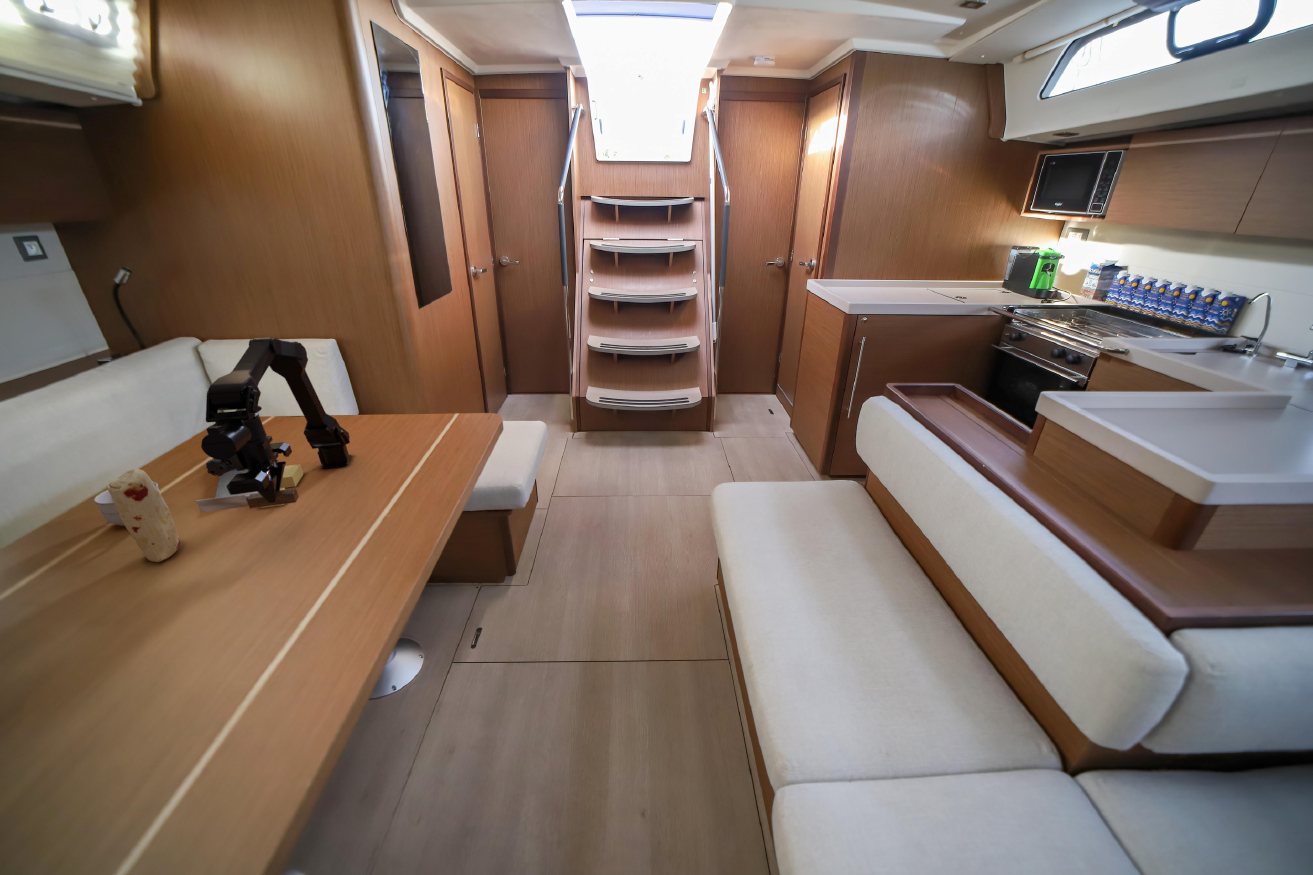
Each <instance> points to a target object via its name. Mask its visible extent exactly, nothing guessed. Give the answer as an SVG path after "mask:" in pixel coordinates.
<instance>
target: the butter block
mask: <svg viewBox="0 0 1313 875" xmlns="http://www.w3.org/2000/svg"><path fill="white" fill-rule="evenodd" d="M302 468H303V467H302V466H301V464H292V465H291V464H290V465H285V468H284V473H283V478H282V482H281V488H285V489H287V488H294V487H297V485H298V484H299V482H300V480H301V479H302V477H303V475H304V471H303V469H302Z"/></svg>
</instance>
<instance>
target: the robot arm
mask: <svg viewBox="0 0 1313 875" xmlns="http://www.w3.org/2000/svg"><path fill="white" fill-rule="evenodd" d="M306 349H307V348H306V347H305V346H304V345H303V344H302V343H301V342H299V341H289V340H283V339H279V338H275V337H272V336H270V337H254V338H252V339H250V340H249V342H248V347H247V348H246V350H245V352H244V353H243V354H242V356H241V358H240V359H239V360H238V361H237V363H236V365H235V366H234V368H233V369H232V370H231V372H229V373H227V374H225V375H222V376H220V377H218V378H217V379H215V381H213V382H212V383H211V384H210V385H209V386H208V389H207V391H206V403H205V422H206V423H214V424H212V425H210V426H208V427H207V428H206V432H207V434H206V435H205V436H203V438H202V439H201V445H200V447H201V450H202V452H203V453H204V454H205V455H206V456H208V457H210V458H211V459H209V460H207V462H206V463H205V468H206V470H207V473H208V474H209V475H211V476H214V477H215V476H217V477H220V476H222V475H223V474H224V473H226V472H229V471H231V470H233V469H235V468H236V469H237V471H242V470H245V469H248V472H247V473H240V474H236V475H235V477H234V478H233V479H232V480H231V481H230V482H229V483H228V485H227V486H226V487H227V489H228V492H229V494H231V495H235V494H242V493H250V492H258V493H259V494H260V495H261V496H262V497H263V498H264V499H265V500H266V501H267V502H269V503H273V502H275V495H276V491H279V490H280V488H281V482H282V478H283V473H284V468H285V466H287V465H286V464H287V462H286V461H279V459H278V457H279V454H280V455H281V454H282V455H283V456H284V457H285V458H288V457H290V455H291V454H292V453H293V450H292V447H291V444H289V443H287V442H285V441H281V442H280V441H279V442H273V436H272V435H267V433H266V430H265V426H264V424H263V421H262V418H261V416H260V413H259V412H261V410H262V409H263V408H262V406H260V405H259V401H260V398H261V394H262V392H261V390H260V388H259V384H260V382H261V380H262V378H263V377H264V375H265V374H266V372H267V370H268V369H269V368H270V369H271V371H272V372H274V373H275V374H277V375H279V376H280V377H282V378H283V379H284V380H285V382H286V384H287V385H288V387H289V389H290V391H291V393H292V395H293V397H294V399H295V401H296V403H297V405H298V407H299V409H300V411H301V412H302V415H303V417H304V418H305V420H306V424H305V427H304V430H303V435H304V436H305V439H306V441H307V443H308V444H309V446H310V447H311V449H313V450H315V449H318V450H317V456H318V459H319V462H320V465H321V469H322V470H326V469H333V468H335V469H336V468H342V467H347V466H349V463H350V461H351V459H352V457H353V456H352V455H351V454H349V451H348V447H347V445H348V444H350V443H351V440H350V433H349V431H347V430H346V429H344V428H343V427H342V426H341V425H340V423H339V422H338V421H337V419H336V418H335V417H333V416H331V415H330V414H328V413H327V412H326V411H325V408H324V406H323V404H322V402H321V400H320V398H319V395H318V394H317V392H316V390H315V387H314V385H313V383H312V381H311V379H310V377H309V374H308V373H307V371H306V368H307V365H308V362H309V358H308V353H307V350H306Z"/></svg>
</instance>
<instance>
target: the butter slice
mask: <svg viewBox="0 0 1313 875" xmlns="http://www.w3.org/2000/svg"><path fill="white" fill-rule="evenodd" d="M280 490H286V488H280ZM284 505H285V504H279V505H272V506H264V507H260V509H265V508H273V507H278V506H279V507H281V506H284Z"/></svg>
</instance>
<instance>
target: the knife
mask: <svg viewBox="0 0 1313 875" xmlns="http://www.w3.org/2000/svg"><path fill="white" fill-rule="evenodd" d="M299 498H300V496H299V493H298V489H297V488H289V489H285V490H279V491H276V495H275V502H273V503H269V502H267V501H266V500H265V499H264V498H263V497H262V496H261V495H260V494H259V493H255V494H250V495H249V497H248V498H246V496H245V494H244V495H236V496H228V497H220V498H215V497H212V498H204V499H196V500H195V502H196V504H197V507H198V509H199V512H200V513H207V512H215V511H222V510H231V509H238V508H246V507H249V509H254V508H255V509H256V508H261V507H264V506H272V505H279V504H284V505H285V504H287V505H288V504H295V503H297V501H298V500H299Z"/></svg>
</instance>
